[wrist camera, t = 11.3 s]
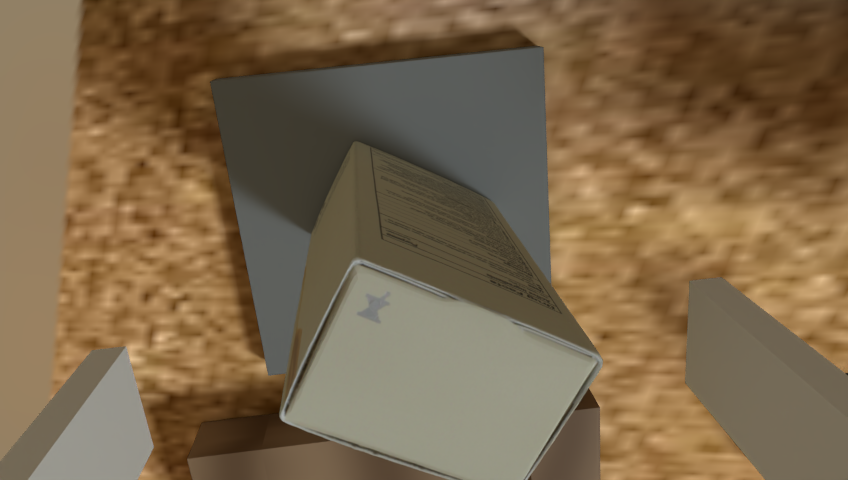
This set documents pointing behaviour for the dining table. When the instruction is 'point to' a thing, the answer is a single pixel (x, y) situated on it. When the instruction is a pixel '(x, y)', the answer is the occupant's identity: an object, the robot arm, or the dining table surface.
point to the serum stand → (355, 470)
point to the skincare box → (430, 329)
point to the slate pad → (384, 130)
